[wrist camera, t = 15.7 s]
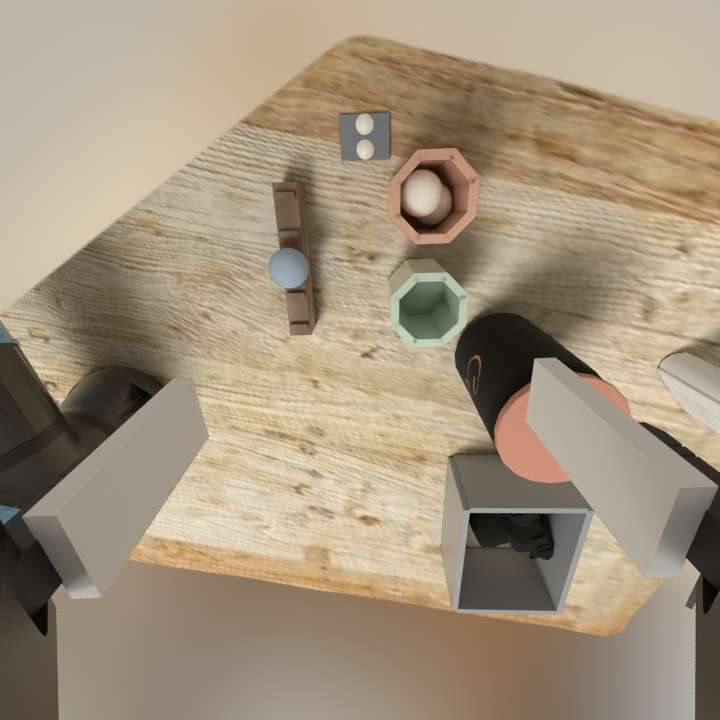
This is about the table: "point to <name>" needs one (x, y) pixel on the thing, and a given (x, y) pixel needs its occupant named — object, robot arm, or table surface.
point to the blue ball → (288, 268)
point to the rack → (296, 237)
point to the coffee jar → (516, 388)
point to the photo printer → (694, 386)
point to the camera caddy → (505, 565)
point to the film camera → (513, 532)
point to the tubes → (419, 232)
